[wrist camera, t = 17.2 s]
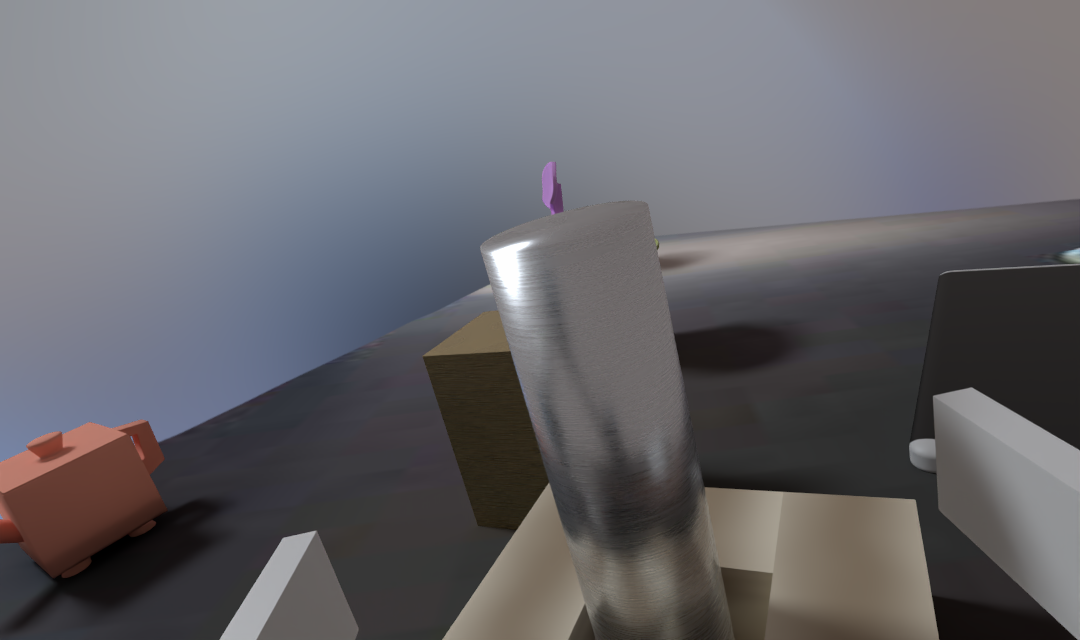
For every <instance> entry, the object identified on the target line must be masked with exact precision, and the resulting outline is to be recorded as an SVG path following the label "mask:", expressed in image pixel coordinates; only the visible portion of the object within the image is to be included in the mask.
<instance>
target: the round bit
mask: <svg viewBox="0 0 1080 640" xmlns="http://www.w3.org/2000/svg"><path fill="white" fill-rule="evenodd" d="M480 249H481V253H482V256H483V260H484V263H485V267H486V270H487V273H488V276H489V280H490V283H491V287H492V290H493V294H494V297H495V300H496V304H497V307H498V311H499V314H500V317H501V321H502V324H503V327H504V331H505V334H506V338H507V341H508V344H509V348H510V351H511V355H512V358H513V361H514V365H515V368H516V371H517V375H518V378H519V382H520V385H521V388H522V392H523V395H524V399H525V402H526V405H527V409H528V412H529V415H530V419H531V422H532V426H533V429H534V432H535V436H536V439H537V443H538V446H539V449H540V453H541V456H542V459H543V463H544V466H545V470H546V473H547V476H548V480H549V483H550V486H551V490H552V493H553V497H554V500H555V503H556V507H557V510H558V514H559V517H560V520H561V524H562V527H563V530H564V534H565V537H566V541H567V544H568V547H569V551H570V554H571V558H572V561H573V564H574V568H575V571H576V574H577V578H578V581H579V585H580V588H581V591H582V595H583V598H584V602H585V605H586V608H587V612H588V615H589V618H590V622H591V625H592V629H593V632H594V635H595V639H596V640H735V638H734V633H733V628H732V623H731V618H730V613H729V608H728V603H727V598H726V593H725V588H724V583H723V578H722V573H721V568H720V563H719V558H718V553H717V548H716V543H715V538H714V533H713V528H712V523H711V518H710V513H709V508H708V503H707V498H706V493H705V488H704V483H703V478H702V473H701V468H700V463H699V458H698V453H697V448H696V443H695V438H694V433H693V428H692V423H691V418H690V413H689V408H688V403H687V398H686V393H685V388H684V383H683V377H682V372H681V367H680V362H679V357H678V352H677V347H676V342H675V337H674V332H673V327H672V322H671V317H670V312H669V307H668V302H667V297H666V292H665V287H664V282H663V277H662V272H661V267H660V262H659V257H658V252H657V247H656V242H655V237H654V232H653V227H652V223H651V217H650V213H649V207H648V204H647V203H645V202H642V201H619V202H610V203H604V204H597V205H592V206H586V207H582V208H577V209H573V210H568V211H565V212H560V213H557V214H553V215H550V216H546V217H543V218H539V219H536V220H533V221H530V222H527V223H524V224H521V225H518V226H516V227H513V228H511V229H508V230H506V231H503V232H501V233H499V234H497V235H495V236H493V237H491V238H490V239H488V240H487V241H485V242H484V243H483V244H482V245H481V246H480Z"/></svg>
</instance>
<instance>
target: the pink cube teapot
mask: <svg viewBox="0 0 1080 640" xmlns="http://www.w3.org/2000/svg"><path fill="white" fill-rule="evenodd" d="M130 436H132V437H133V440H134V444H135V445H134V444H133V442H132V440H131V438H130ZM26 447H27V448H28V449H29V450H27V451H24V452H22V453H20V454H18V455H16V456H13V457H11V458H9V459H7V460H4V461H2V462H0V514H1V516H2V518H3V519H0V544H1V543H18V544H19V545H20V547H21V548H22V549H23V550H24V551H25V552H26V553H27V554H28V555H29V556H30V557H31V558H32V559H33V560H34V561H35V562H36V563H37V564H38V565H39V566H40V567H41V568H42V569H44V570H45V571H46V572H47V573H48V574H49V575H50V576H51V577H52V578H53V579H54V578H56V577H57V576H59V575H61V574H62V578H68V577H71V576H74V575H76V574H78V573H79V572H81V571H83V570H84V569H86V568H87V567H88V566H89V565H90V564H91V562H92V560H91V556H92V555H94V554H96V553H97V552H99V551H101V550H102V549H104V548H106V547H108V546H109V545H111V544H113V543H114V542H116V541H118V540H119V539H121V538H123V537H124V536H126V535H129V536H130V537H136V536H139V535H141V534H144V533H145V532H147V531H149V530H150V529H152V528H153V527H154V526H155V524H156V522H155V521H153V519H154V518H156V517H158V516H159V515H161V514H163V513H165V512H166V511H168V510H167V508H166V506H165V504H164V502H163V500H162V498H161V496H160V494H159V492H158V490H157V489H156V487H155V485H154V483H153V481H152V479H151V477H150V474H151V473H152V472H153V471H154V470H155V469H156V468H157V467H158V466H159V465H160V464H161V463H162V461H163V460H164V459H165V458H164V456H163V454H162V451H161V449H160V447H159V445H158V443H157V440H156V438H155V436H154V434H153V431H152V429H151V427H150V425H149V423H148V421H145V420H138V421H135V422H132V423H128V424H125V425H122V426H119V427H115V428H112V429H111V428H108V427H105V426H102V425H98V424H95V423H91V422H89V423H87V424H85V425H82V426H80V427H78V428H76V429H74V430H71V431H69V432H67V433H65V434H62V432H52V433H49V434H46V435H43V436H41V437H39V438H37V439H35V440H33V441H31V442H30V443H29V444H28V445H27V446H26Z"/></svg>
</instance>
